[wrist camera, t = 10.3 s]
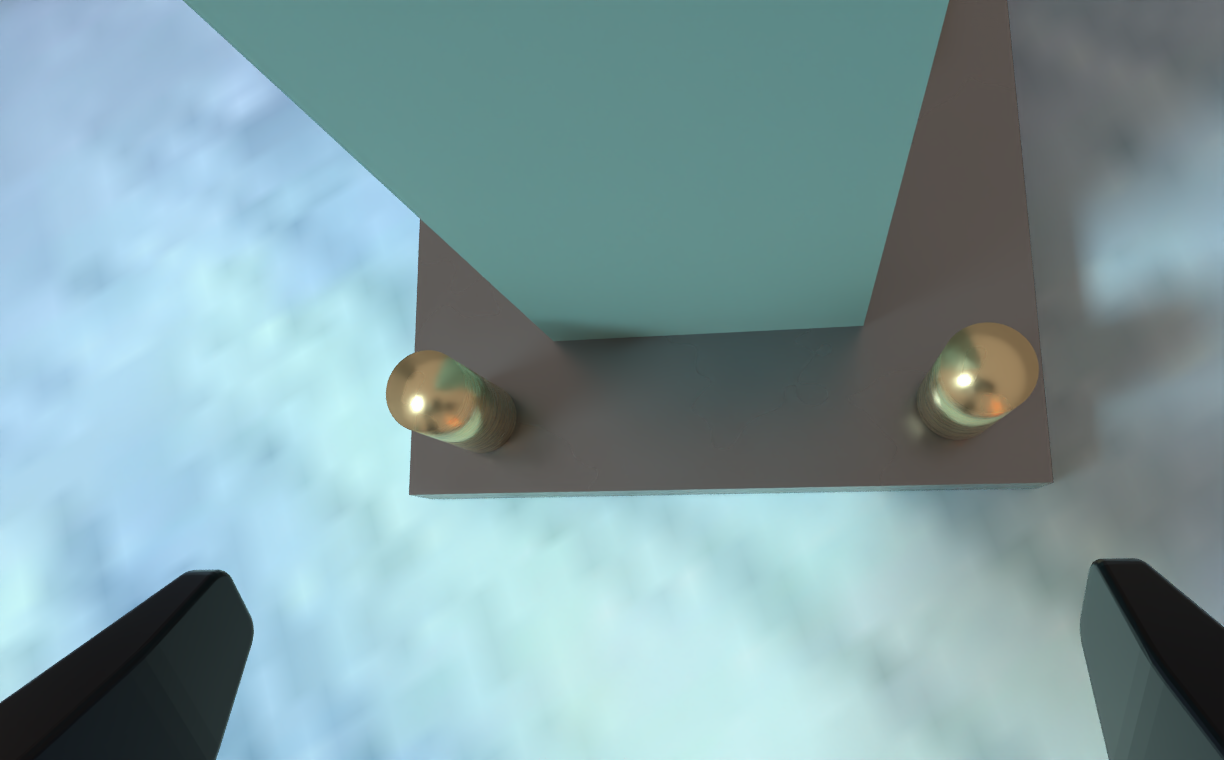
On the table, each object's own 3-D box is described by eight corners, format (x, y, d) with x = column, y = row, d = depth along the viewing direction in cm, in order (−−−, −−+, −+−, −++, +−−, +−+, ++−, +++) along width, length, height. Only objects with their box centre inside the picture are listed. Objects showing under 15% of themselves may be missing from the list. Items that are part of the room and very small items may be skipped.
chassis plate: (984, -78, 20) (1031, -243, 16) (1036, 488, 18) (1107, 464, 14) (449, -11, 22) (371, -139, 18) (431, 499, 20) (337, 482, 16)
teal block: (846, 35, 19) (922, -818, 7) (863, 326, 18) (984, -138, 6) (555, 66, 20) (218, -628, 8) (553, 341, 19) (156, -25, 7)
